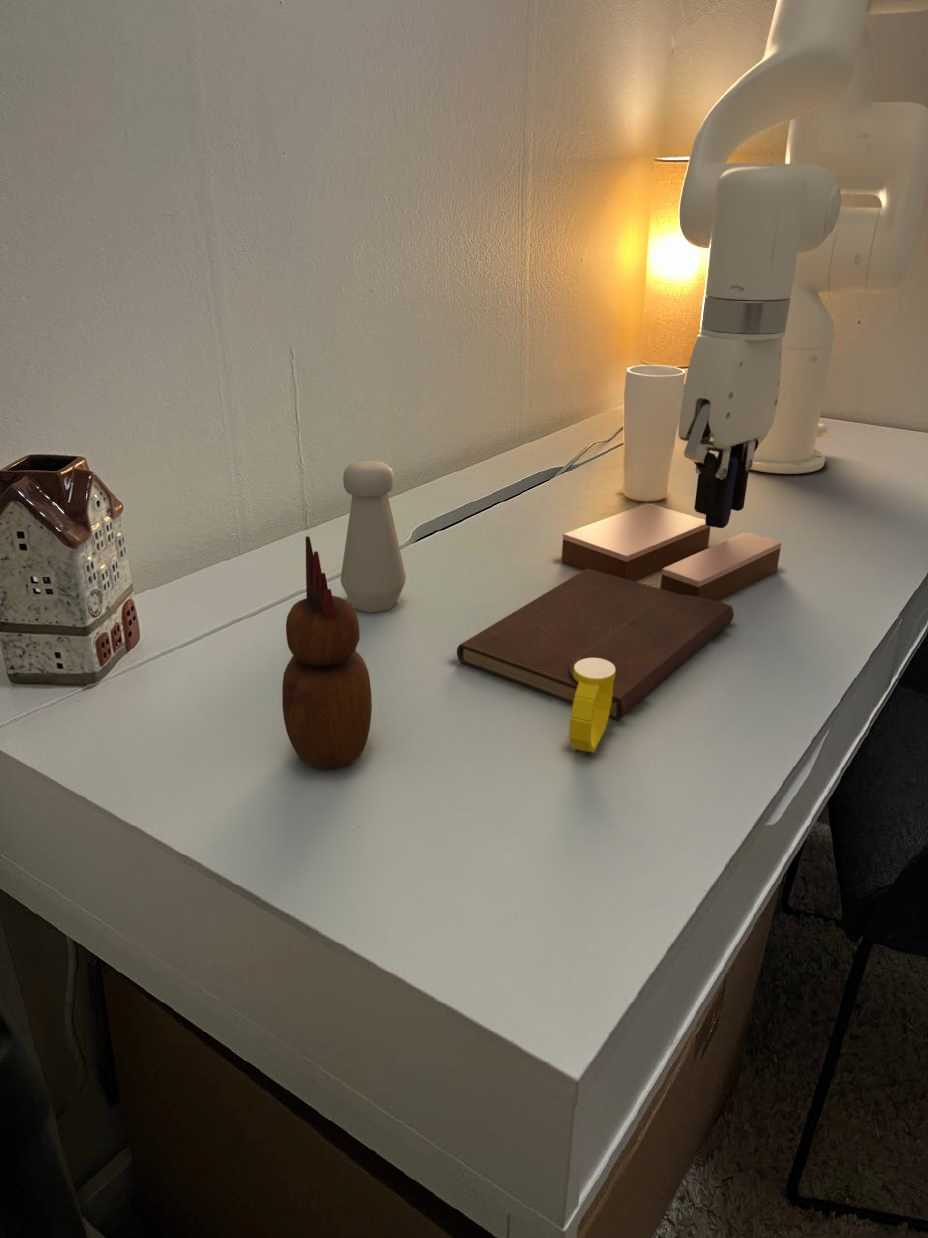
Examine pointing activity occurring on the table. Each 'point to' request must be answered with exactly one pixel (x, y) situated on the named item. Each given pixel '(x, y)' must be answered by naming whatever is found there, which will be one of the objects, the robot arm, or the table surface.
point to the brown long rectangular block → (723, 567)
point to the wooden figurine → (325, 676)
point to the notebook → (598, 637)
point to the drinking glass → (650, 429)
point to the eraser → (732, 475)
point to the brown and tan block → (636, 542)
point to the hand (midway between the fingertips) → (718, 509)
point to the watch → (591, 702)
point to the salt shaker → (371, 540)
